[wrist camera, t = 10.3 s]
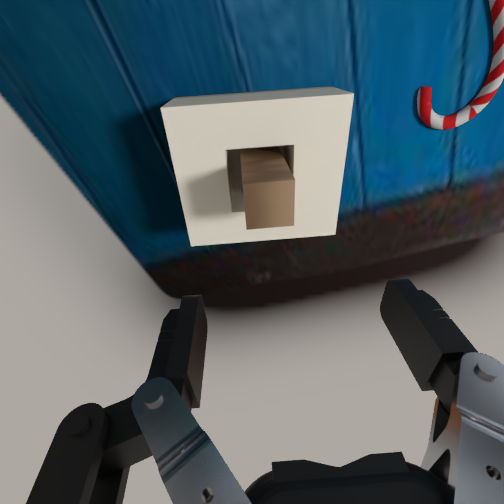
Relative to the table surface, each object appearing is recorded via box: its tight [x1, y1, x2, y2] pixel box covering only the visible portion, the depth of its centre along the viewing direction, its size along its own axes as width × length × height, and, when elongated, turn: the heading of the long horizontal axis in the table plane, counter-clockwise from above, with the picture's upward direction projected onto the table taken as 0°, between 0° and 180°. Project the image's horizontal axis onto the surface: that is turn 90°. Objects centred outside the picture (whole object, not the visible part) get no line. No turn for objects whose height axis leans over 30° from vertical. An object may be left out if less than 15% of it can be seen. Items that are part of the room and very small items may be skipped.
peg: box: [240, 146, 295, 230], centre depth 24 cm, size 4×4×10 cm
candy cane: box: [417, 0, 504, 130], centre depth 23 cm, size 8×1×15 cm
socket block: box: [161, 86, 354, 246], centre depth 26 cm, size 14×12×6 cm
